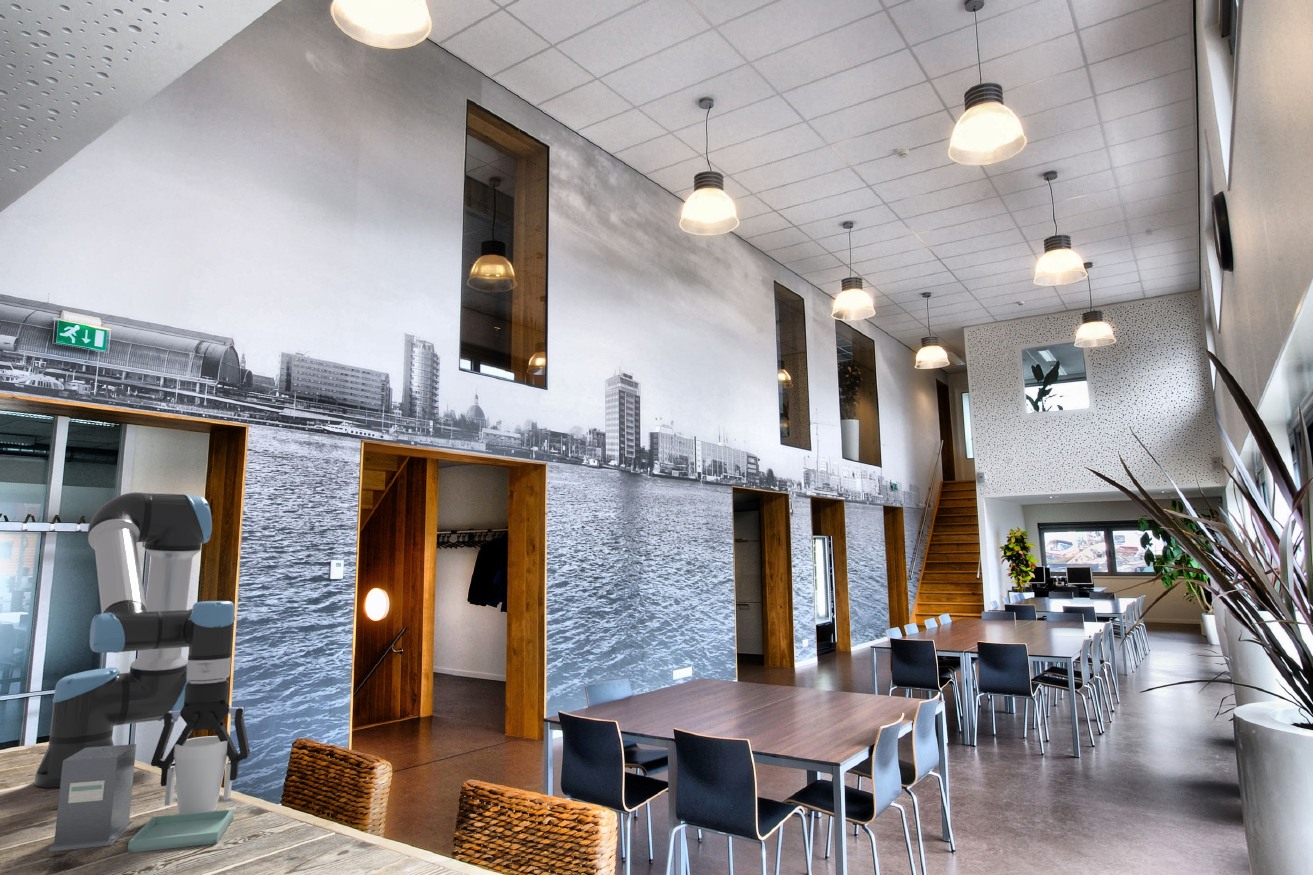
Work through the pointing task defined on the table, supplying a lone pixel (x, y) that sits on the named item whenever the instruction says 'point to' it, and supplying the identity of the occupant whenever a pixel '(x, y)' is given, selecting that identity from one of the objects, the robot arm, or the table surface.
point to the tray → (181, 830)
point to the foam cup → (199, 773)
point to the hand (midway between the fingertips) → (198, 800)
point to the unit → (94, 797)
